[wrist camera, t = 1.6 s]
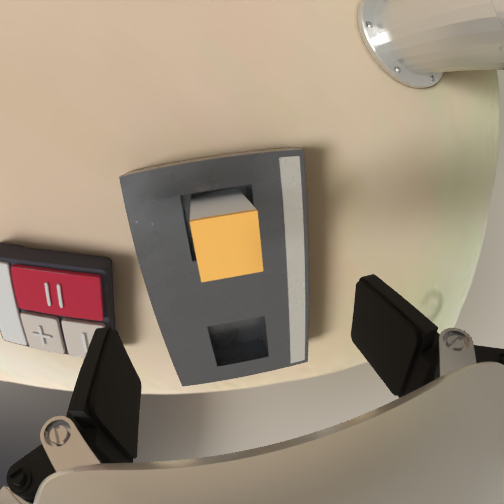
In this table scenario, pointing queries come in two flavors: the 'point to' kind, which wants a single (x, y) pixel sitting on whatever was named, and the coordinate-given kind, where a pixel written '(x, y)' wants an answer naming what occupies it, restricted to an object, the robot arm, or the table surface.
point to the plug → (225, 234)
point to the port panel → (234, 288)
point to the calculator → (54, 298)
